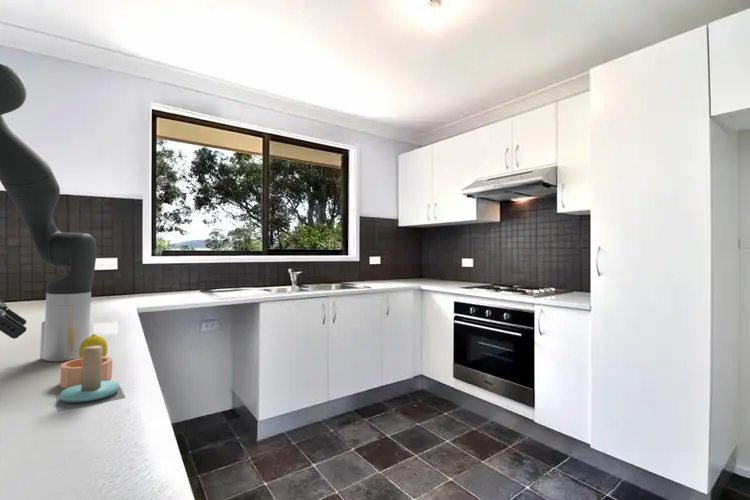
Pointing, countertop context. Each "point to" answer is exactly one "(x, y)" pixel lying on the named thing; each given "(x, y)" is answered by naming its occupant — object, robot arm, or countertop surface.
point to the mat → (70, 405)
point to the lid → (90, 379)
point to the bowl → (73, 372)
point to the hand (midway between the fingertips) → (21, 330)
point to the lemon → (94, 344)
